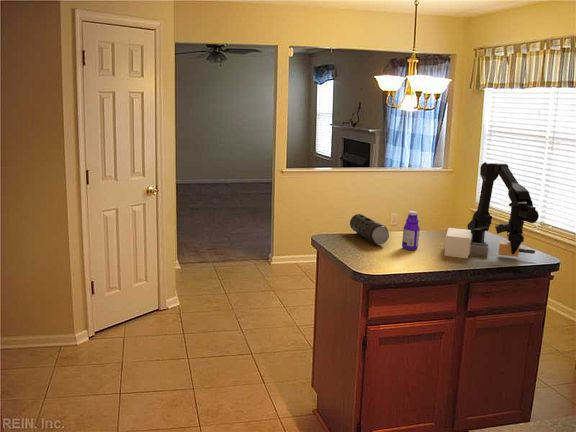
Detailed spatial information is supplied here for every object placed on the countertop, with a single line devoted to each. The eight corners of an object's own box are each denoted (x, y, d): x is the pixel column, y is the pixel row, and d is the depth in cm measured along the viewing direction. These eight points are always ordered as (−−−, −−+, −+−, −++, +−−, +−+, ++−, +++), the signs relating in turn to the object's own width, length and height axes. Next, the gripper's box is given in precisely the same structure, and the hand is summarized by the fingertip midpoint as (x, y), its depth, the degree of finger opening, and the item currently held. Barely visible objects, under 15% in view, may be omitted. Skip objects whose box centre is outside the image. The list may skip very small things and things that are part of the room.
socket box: (444, 255, 259) (446, 235, 257) (446, 246, 276) (448, 227, 274) (487, 260, 254) (489, 240, 252) (486, 250, 271) (489, 231, 269)
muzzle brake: (366, 233, 297) (367, 213, 295) (389, 247, 271) (391, 225, 269) (348, 233, 295) (349, 213, 292) (370, 247, 268) (372, 225, 266)
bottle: (420, 249, 268) (423, 212, 265) (413, 251, 264) (416, 213, 261) (406, 246, 273) (409, 209, 270) (399, 248, 269) (402, 211, 265)
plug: (498, 254, 259) (500, 243, 258) (498, 252, 263) (499, 241, 262) (534, 258, 254) (536, 247, 253) (534, 256, 258) (535, 245, 257)
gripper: (496, 212, 267) (493, 246, 270) (497, 220, 249) (493, 255, 252) (523, 215, 263) (519, 248, 267) (525, 223, 246) (521, 259, 249)
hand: (512, 252), depth 259 cm, fingers closed on plug, 4 cm apart
